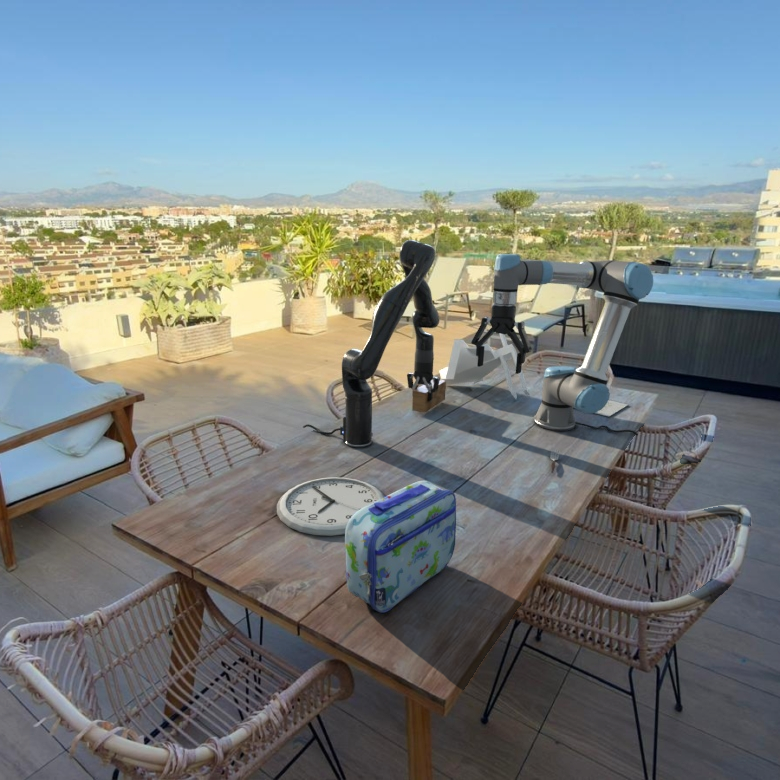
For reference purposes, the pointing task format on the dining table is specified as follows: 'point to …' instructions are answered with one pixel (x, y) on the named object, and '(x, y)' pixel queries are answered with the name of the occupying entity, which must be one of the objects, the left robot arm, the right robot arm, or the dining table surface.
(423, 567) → the lunch box
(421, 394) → the box
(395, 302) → the left robot arm
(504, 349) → the white plastic object
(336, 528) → the wall clock
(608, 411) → the invitation card
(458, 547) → the dining table surface
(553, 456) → the fork
